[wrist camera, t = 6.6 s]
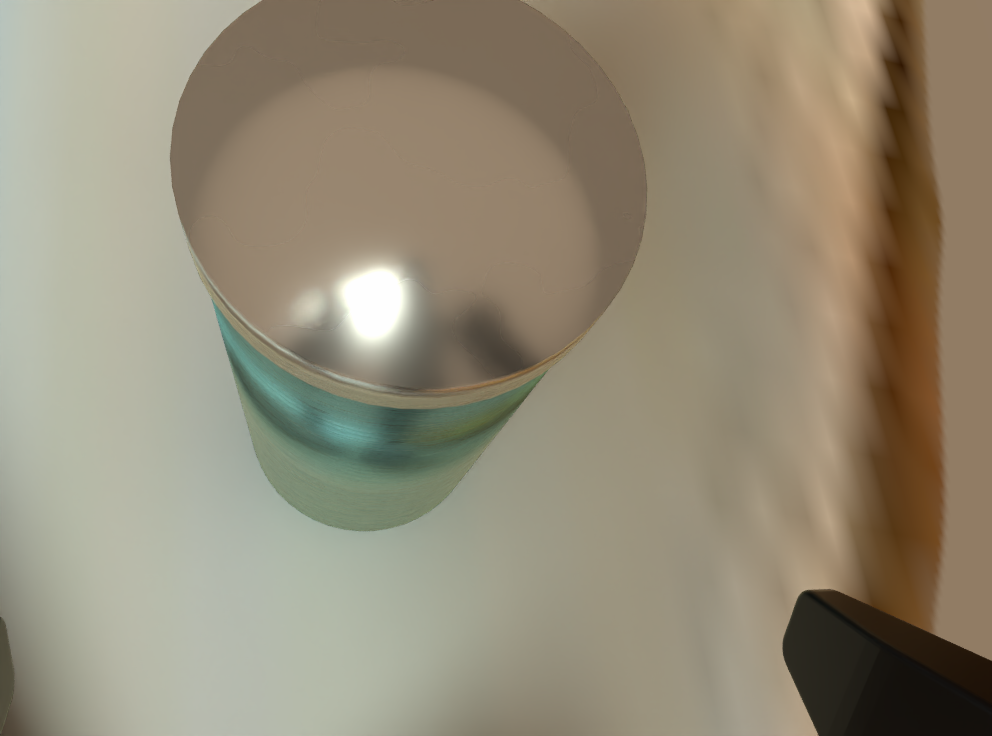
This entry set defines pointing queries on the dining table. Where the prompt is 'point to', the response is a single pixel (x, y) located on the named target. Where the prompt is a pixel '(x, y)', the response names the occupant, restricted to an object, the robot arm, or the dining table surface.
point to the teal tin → (399, 232)
